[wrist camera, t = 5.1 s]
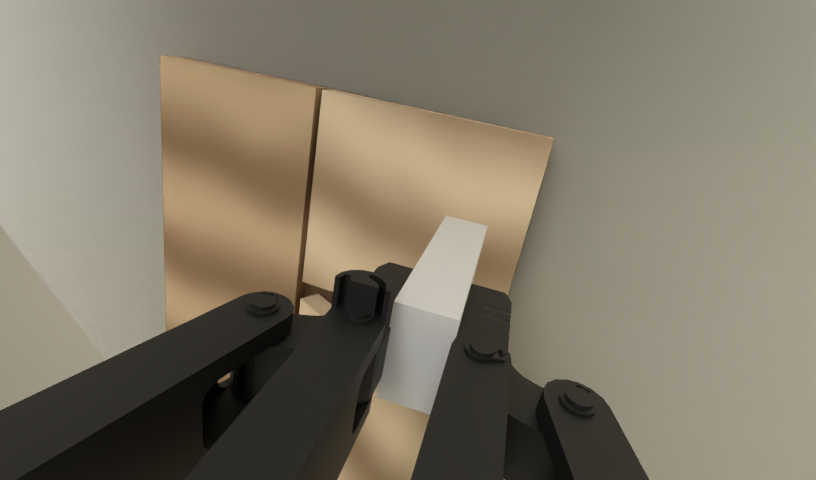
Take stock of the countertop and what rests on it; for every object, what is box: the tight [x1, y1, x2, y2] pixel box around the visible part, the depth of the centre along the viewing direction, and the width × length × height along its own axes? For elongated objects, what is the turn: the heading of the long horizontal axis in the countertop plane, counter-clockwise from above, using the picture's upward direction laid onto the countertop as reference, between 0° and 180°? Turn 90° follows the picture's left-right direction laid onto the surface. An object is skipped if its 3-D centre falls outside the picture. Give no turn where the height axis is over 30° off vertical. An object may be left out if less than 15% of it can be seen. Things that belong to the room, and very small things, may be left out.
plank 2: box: [299, 294, 430, 480], centre depth 22 cm, size 10×10×1 cm
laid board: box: [160, 55, 361, 383], centre depth 24 cm, size 20×10×2 cm, turn 169°
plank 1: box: [302, 90, 554, 296], centre depth 20 cm, size 10×10×1 cm
